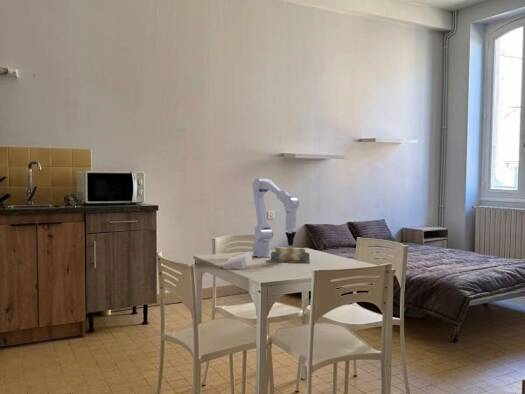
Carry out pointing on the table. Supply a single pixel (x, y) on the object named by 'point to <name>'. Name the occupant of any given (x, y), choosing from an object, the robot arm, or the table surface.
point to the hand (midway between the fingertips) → (290, 245)
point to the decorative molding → (238, 261)
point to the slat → (290, 253)
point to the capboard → (276, 258)
